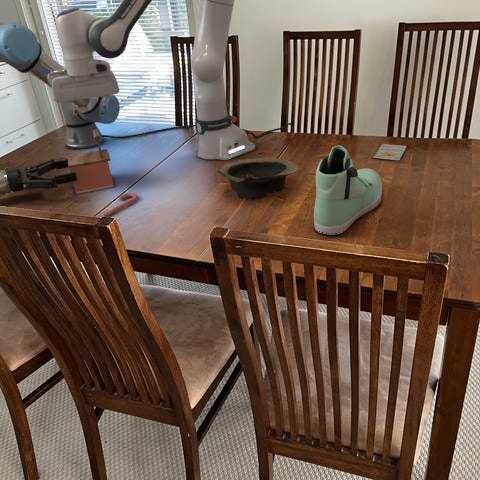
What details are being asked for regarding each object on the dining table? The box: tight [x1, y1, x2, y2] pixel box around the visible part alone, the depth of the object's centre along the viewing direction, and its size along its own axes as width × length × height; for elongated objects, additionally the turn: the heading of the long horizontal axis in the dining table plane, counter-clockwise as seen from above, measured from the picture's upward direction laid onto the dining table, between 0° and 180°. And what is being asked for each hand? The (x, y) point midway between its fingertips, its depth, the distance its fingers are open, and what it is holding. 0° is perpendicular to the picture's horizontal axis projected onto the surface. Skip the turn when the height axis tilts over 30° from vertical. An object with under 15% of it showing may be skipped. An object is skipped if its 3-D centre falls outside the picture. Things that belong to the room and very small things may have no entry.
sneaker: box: [313, 145, 383, 236], centre depth 133 cm, size 14×35×20 cm, turn 152°
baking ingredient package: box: [373, 143, 407, 161], centre depth 172 cm, size 9×1×15 cm
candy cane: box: [103, 192, 139, 218], centre depth 150 cm, size 6×15×2 cm, turn 145°
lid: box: [67, 129, 111, 169], centre depth 159 cm, size 13×10×9 cm
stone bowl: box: [217, 157, 299, 201], centre depth 152 cm, size 25×25×9 cm
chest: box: [68, 161, 115, 195], centre depth 164 cm, size 13×10×9 cm
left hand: (75, 168), depth 162 cm, fingers open, 13 cm apart
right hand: (91, 111), depth 155 cm, fingers open, 8 cm apart
